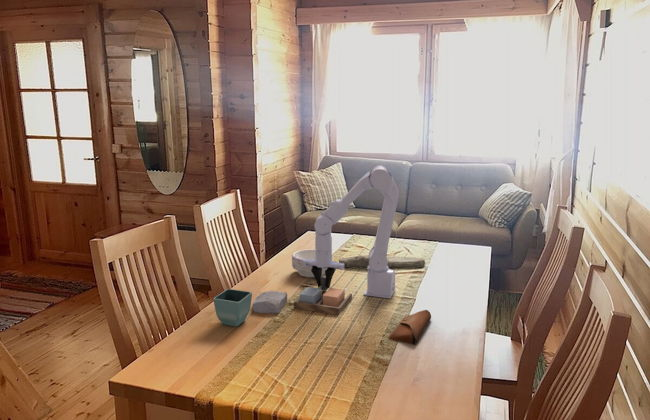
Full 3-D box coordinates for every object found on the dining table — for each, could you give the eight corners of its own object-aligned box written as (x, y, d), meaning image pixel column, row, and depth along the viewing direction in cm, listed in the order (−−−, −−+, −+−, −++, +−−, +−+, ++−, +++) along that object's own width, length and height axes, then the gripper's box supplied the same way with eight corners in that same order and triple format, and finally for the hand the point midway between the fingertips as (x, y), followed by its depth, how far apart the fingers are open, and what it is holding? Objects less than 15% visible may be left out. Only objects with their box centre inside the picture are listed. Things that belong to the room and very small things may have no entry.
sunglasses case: (404, 315, 162) (415, 299, 160) (422, 329, 161) (434, 313, 158) (386, 339, 146) (398, 322, 144) (407, 355, 145) (419, 338, 142)
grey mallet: (331, 290, 183) (331, 276, 182) (314, 309, 167) (313, 293, 166) (318, 289, 184) (318, 275, 183) (299, 307, 169) (299, 291, 168)
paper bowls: (338, 270, 204) (338, 251, 202) (319, 283, 190) (319, 262, 189) (304, 265, 211) (304, 246, 209) (284, 276, 197) (284, 256, 196)
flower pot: (253, 318, 160) (252, 291, 158) (240, 330, 152) (238, 302, 150) (228, 315, 163) (227, 288, 161) (214, 326, 155) (212, 298, 153)
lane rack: (352, 298, 176) (352, 292, 175) (338, 314, 163) (338, 308, 162) (309, 293, 181) (309, 287, 180) (293, 308, 168) (293, 301, 168)
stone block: (251, 318, 165) (281, 314, 164) (248, 304, 165) (278, 299, 163) (262, 304, 177) (290, 300, 175) (259, 291, 176) (287, 287, 174)
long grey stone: (427, 273, 205) (422, 266, 215) (428, 260, 204) (423, 253, 214) (338, 269, 204) (338, 262, 214) (339, 256, 204) (338, 250, 213)
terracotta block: (344, 302, 173) (344, 289, 172) (337, 310, 167) (337, 297, 166) (330, 300, 175) (330, 288, 174) (323, 308, 168) (322, 295, 167)
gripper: (299, 251, 178) (300, 288, 181) (339, 255, 173) (339, 293, 176) (307, 245, 184) (307, 281, 187) (346, 249, 179) (346, 286, 182)
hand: (323, 287), depth 182 cm, fingers closed on grey mallet, 3 cm apart
